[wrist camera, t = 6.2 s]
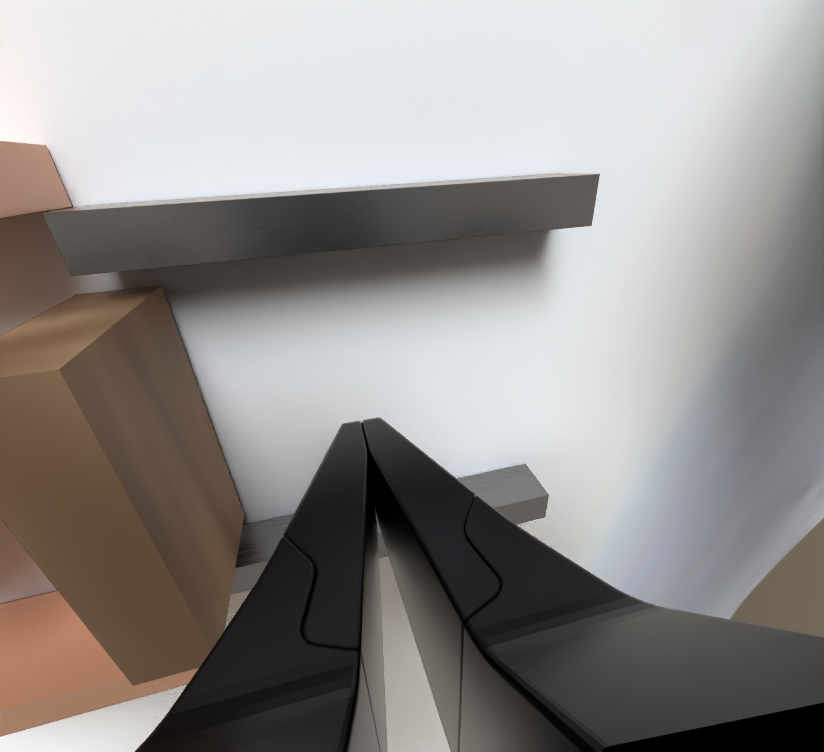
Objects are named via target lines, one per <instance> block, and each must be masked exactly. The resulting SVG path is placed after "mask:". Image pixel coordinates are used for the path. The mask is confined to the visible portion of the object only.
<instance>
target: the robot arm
mask: <svg viewBox="0 0 824 752" xmlns="http://www.w3.org/2000/svg"><path fill="white" fill-rule="evenodd" d="M375 510H376V511H375ZM376 515H377V519H376ZM377 520H378V523H379V527H380V530H381V534H382V537H383V540H384V543H385V546H386V549H387V553H388V556H389V559H390V562H391V565H392V568H393V571H394V575H395V578H396V581H397V584H398V587H399V590H400V593H401V597H402V600H403V603H404V606H405V609H406V612H407V615H408V619H409V622H410V625H411V628H412V631H413V634H414V637H415V641H416V644H417V647H418V650H419V653H420V656H421V659H422V663H423V666H424V669H425V672H426V675H427V678H428V681H429V685H430V688H431V691H432V694H433V697H434V700H435V703H436V707H437V710H438V713H439V716H440V719H441V722H442V725H443V729H444V732H445V735H446V738H447V741H448V744H449V747H450V751H451V752H824V637H821V636H815V635H810V634H804V633H799V632H793V631H788V630H782V629H777V628H772V627H767V626H761V625H756V624H750V623H745V622H739V621H734V620H729V619H723V618H718V617H712V616H707V615H702V614H696V613H691V612H685V611H680V610H675V609H669V608H664V607H660V606H656V605H653V604H649V603H646V602H644V601H641V600H639V599H636V598H634V597H631V596H629V595H627V594H625V593H623V592H621V591H619V590H618V589H616V588H614V587H612V586H611V585H609V584H607V583H606V582H604V581H602V580H601V579H599V578H598V577H596V576H595V575H593V574H591V573H590V572H588V571H587V570H585V569H584V568H582V567H581V566H579V565H577V564H576V563H574V562H573V561H571V560H570V559H568V558H566V557H565V556H563V555H562V554H560V553H559V552H557V551H555V550H554V549H552V548H551V547H549V546H548V545H546V544H544V543H543V542H541V541H540V540H538V539H537V538H535V537H534V536H532V535H531V534H529V533H528V532H526V531H525V530H523V529H522V528H520V527H519V526H517V525H516V524H514V523H513V522H511V521H510V520H509V519H507V518H506V517H505V516H504V515H502V514H501V513H500V512H498V511H497V510H496V509H494V508H493V507H492V506H490V505H489V504H488V503H487V502H485V501H484V500H483V499H482V498H480V497H479V496H475V493H474V492H473V491H471V490H470V489H469V488H468V487H466V486H465V485H464V484H463V483H461V482H460V481H459V480H458V479H456V478H455V477H454V476H453V475H451V474H450V473H449V472H448V471H446V470H445V469H444V468H443V467H441V466H440V465H439V464H438V463H436V462H435V461H434V460H433V459H431V458H430V457H429V456H428V455H426V454H425V453H424V452H423V451H421V450H420V449H419V448H418V447H416V446H415V445H414V444H413V443H411V442H410V441H409V440H408V439H406V438H405V437H404V436H403V435H401V434H400V433H399V432H398V431H396V430H395V429H394V428H393V427H391V426H390V425H389V424H388V423H386V422H385V421H384V420H383V419H381V418H373V419H367V420H364V421H362V423H361V422H360V421H355V422H349V423H344V424H342V425H341V427H340V429H339V431H338V433H337V435H336V436H335V438H334V440H333V442H332V444H331V446H330V448H329V450H328V451H327V453H326V455H325V457H324V459H323V461H322V463H321V465H320V466H319V468H318V470H317V472H316V474H315V476H314V478H313V480H312V481H311V483H310V485H309V487H308V489H307V491H306V493H305V495H304V497H303V498H302V500H301V502H300V504H299V506H298V508H297V510H296V512H295V513H294V515H293V517H292V519H291V521H290V523H289V525H288V527H287V528H286V530H285V532H284V534H283V537H282V538H281V539H280V541H279V543H278V545H277V547H276V549H275V551H274V553H273V554H272V556H271V558H270V560H269V561H268V563H267V565H266V567H265V568H264V570H263V572H262V574H261V575H260V577H259V579H258V581H257V582H256V584H255V585H254V587H253V588H252V590H251V591H250V593H249V595H248V596H247V598H246V599H245V601H244V602H243V604H242V605H241V607H240V608H239V610H238V611H237V613H236V614H235V616H234V617H233V619H232V620H231V622H230V623H229V625H228V626H227V628H226V629H225V631H224V632H223V633H222V635H221V636H220V638H219V639H218V641H217V642H216V644H215V645H214V647H213V648H212V650H211V651H210V652H209V654H208V655H207V657H206V658H205V660H204V661H203V663H202V664H201V666H200V667H199V669H198V670H197V672H196V673H195V674H194V676H193V677H192V679H191V680H190V682H189V683H188V685H187V686H186V688H185V689H184V691H183V692H182V693H181V695H180V696H179V698H178V699H177V701H176V702H175V704H174V705H173V706H172V708H171V709H170V710H169V712H168V713H167V715H166V716H165V717H164V719H163V720H162V721H161V722H160V723H159V725H158V726H157V727H156V728H155V730H154V731H153V732H152V733H151V735H150V736H149V737H148V738H147V739H146V740H145V741H144V742H143V743H142V744H141V746H140V747H139V748H138V749H137V750H136V751H135V752H387V732H386V709H385V687H384V664H383V642H382V620H381V597H380V575H379V552H378V531H377Z"/></svg>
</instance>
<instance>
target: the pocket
mask: <svg viewBox="0 0 824 752" xmlns="http://www.w3.org/2000/svg"><path fill="white" fill-rule="evenodd" d="M66 207H72V204H71V202H70V200H69V197H68V195H67V193H66V190H65V188H64V186H63V183H62V181H61V179H60V176H59V174H58V172H57V169H56V167H55V165H54V162H53V160H52V158H51V156H50V153H49V151H48V149H47V146H46V145H36V144H26V143H15V142H4V141H0V218H3V217H9V216H16V215H22V214H28V213H34V212H41V211H47V210H53V209H59V208H66ZM198 669H199V668H197V669H193V670H189V671H186V672H182V673H178V674H175V675H171V676H167V677H164V678H160V679H156V680H153V681H149V682H146V683H142V684H138V685H135V686H133V685H132V684H131V683H130V682H129V680H128V679H127V678H126V677H125V675H124V674H123V673H122V672H121V670H120V669H119V668H118V666H117V665H116V664H115V663H114V661H113V660H112V659H111V658H110V656H109V655H108V654H107V653H106V651H105V650H104V649H103V647H102V646H101V645H100V644H99V642H98V641H97V640H96V639H95V637H94V636H93V635H92V634H91V632H90V631H89V630H88V628H87V627H86V626H85V625H84V623H83V622H82V621H81V620H80V618H79V617H78V616H77V614H76V613H75V612H74V611H73V609H72V608H71V607H70V606H69V604H68V603H67V602H66V601H65V599H64V598H63V597H62V595H61V594H60V593H59V592H58V591H55V592H51V593H46V594H42V595H38V596H33V597H29V598H24V599H20V600H16V601H11V602H7V603H2V604H0V737H1V736H4V735H8V734H11V733H15V732H19V731H22V730H26V729H29V728H33V727H36V726H40V725H43V724H47V723H51V722H54V721H58V720H61V719H65V718H68V717H72V716H76V715H79V714H83V713H86V712H90V711H93V710H97V709H101V708H104V707H108V706H111V705H115V704H118V703H122V702H125V701H129V700H133V699H136V698H140V697H143V696H147V695H150V694H154V693H158V692H161V691H165V690H168V689H172V688H175V687H179V686H182V685H186V684H188V683H189V682H190V680H191V679H192V677H193V676H194V674H195V673H196V672H197V670H198Z"/></svg>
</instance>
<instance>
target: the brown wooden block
mask: <svg viewBox="0 0 824 752" xmlns="http://www.w3.org/2000/svg"><path fill="white" fill-rule="evenodd" d="M0 518H1V519H2V521H3V522H4V523H5V524H6V526H7V527H8V528H9V530H10V531H11V532H12V533H13V535H14V536H15V537H16V538H17V540H18V541H19V542H20V544H21V545H22V546H23V547H24V549H25V550H26V551H27V552H28V554H29V555H30V556H31V557H32V559H33V560H34V561H35V563H36V564H37V565H38V566H39V568H40V569H41V570H42V571H43V573H44V574H45V575H46V576H47V578H48V579H49V580H50V582H51V583H52V584H53V585H54V587H55V588H56V589H57V590H58V592H59V593H60V594H61V595H62V597H63V598H64V599H65V601H66V602H67V603H68V604H69V606H70V607H71V608H72V609H73V611H74V612H75V613H76V614H77V616H78V617H79V618H80V620H81V621H82V622H83V623H84V625H85V626H86V627H87V628H88V630H89V631H90V632H91V634H92V635H93V636H94V637H95V639H96V640H97V641H98V642H99V644H100V645H101V646H102V647H103V649H104V650H105V651H106V653H107V654H108V655H109V656H110V658H111V659H112V660H113V661H114V663H115V664H116V665H117V666H118V668H119V669H120V670H121V672H122V673H123V674H124V675H125V677H126V678H127V679H128V680H129V682H130V683H131V684H132V685H133V686H135V685H138V684H142V683H146V682H149V681H153V680H156V679H160V678H164V677H167V676H171V675H175V674H178V673H182V672H186V671H189V670H193V669H197V668H199V667H200V666H201V664H202V663H203V661H204V660H205V658H206V657H207V655H208V654H209V652H210V651H211V650H212V648H213V647H214V645H215V644H216V642H217V641H218V639H219V638H220V636H221V635H222V633H223V632H224V629H225V623H226V618H227V612H228V606H229V600H230V595H231V589H232V583H233V578H234V572H235V566H236V560H237V555H238V549H239V543H240V537H241V532H242V526H243V520H244V512H243V509H242V506H241V504H240V501H239V498H238V495H237V493H236V490H235V487H234V484H233V482H232V479H231V476H230V473H229V470H228V468H227V465H226V462H225V459H224V457H223V454H222V451H221V448H220V446H219V443H218V440H217V437H216V435H215V432H214V429H213V426H212V424H211V421H210V418H209V415H208V412H207V410H206V407H205V404H204V401H203V399H202V396H201V393H200V390H199V388H198V385H197V382H196V379H195V377H194V374H193V371H192V368H191V366H190V363H189V360H188V357H187V354H186V352H185V349H184V346H183V343H182V341H181V338H180V335H179V332H178V330H177V327H176V324H175V321H174V319H173V316H172V313H171V310H170V307H169V305H168V302H167V299H166V296H165V294H164V291H163V288H162V286H155V287H145V288H136V289H126V290H117V291H107V292H98V293H88V294H79V295H74V296H73V297H71V298H69V299H67V300H65V301H63V302H62V303H60V304H58V305H56V306H54V307H53V308H51V309H49V310H47V311H45V312H43V313H42V314H40V315H38V316H36V317H34V318H32V319H31V320H29V321H27V322H25V323H23V324H21V325H20V326H18V327H16V328H14V329H12V330H11V331H9V332H7V333H5V334H3V335H1V336H0Z"/></svg>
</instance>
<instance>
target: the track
mask: <svg viewBox="0 0 824 752" xmlns="http://www.w3.org/2000/svg"><path fill="white" fill-rule="evenodd" d="M599 175H600V174H566V173H557V174H542V175H528V176H513V177H498V178H484V179H469V180H454V181H439V182H425V183H410V184H395V185H381V186H366V187H351V188H336V189H322V190H307V191H292V192H278V193H263V194H248V195H233V196H219V197H204V198H189V199H175V200H160V201H145V202H130V203H116V204H101V205H87V206H81V207H75V208H69V209H63V210H57V211H51V212H45V213H42V214H43V217H44V219H45V221H46V223H47V225H48V227H49V229H50V231H51V234H52V236H53V238H54V240H55V242H56V244H57V246H58V249H59V251H60V253H61V255H62V257H63V259H64V261H65V264H66V266H67V268H68V270H69V272H70V274H71V276H78V275H88V274H99V273H109V272H119V271H130V270H140V269H150V268H161V267H171V266H181V265H192V264H202V263H212V262H222V261H233V260H243V259H253V258H264V257H274V256H284V255H295V254H305V253H315V252H326V251H336V250H346V249H357V248H367V247H377V246H387V245H398V244H408V243H418V242H429V241H439V240H449V239H460V238H470V237H480V236H491V235H501V234H511V233H521V232H532V231H542V230H552V229H563V228H573V227H583V226H592V219H593V213H594V207H595V200H596V194H597V188H598V182H599ZM458 480H459V481H460V482H461V483H463V484H464V485H465V486H466V487H468V488H469V489H470V490H471V491H473V492H474V493H475V496H479V497H480V498H482V499H483V500H484V501H485V502H487V503H488V504H489V505H490V506H492V507H493V508H494V509H496V510H497V511H498V512H500V513H501V514H502V515H504V516H505V517H506V518H507V519H509V520H510V521H511V522H513V523H514V524H519V523H524V522H528V521H532V520H536V519H540V518H544V517H545V515H546V509H547V502H548V496H549V495H548V493H547V492H546V491H545V489H544V488H543V487H542V485H541V484H540V483H539V481H538V480H537V479H536V477H535V476H534V475H533V473H532V472H531V471H530V469H529V468H528V467H527V465H526V464H523V465H519V466H514V467H510V468H505V469H500V470H496V471H491V472H486V473H482V474H477V475H473V476H468V477H463V478H459V479H458ZM375 511H376V510H375ZM293 515H294V514H292V515H287V516H283V517H278V518H274V519H269V520H264V521H260V522H255V523H250V524H246V525H243V526H242V532H241V537H240V543H239V549H238V555H237V560H236V566H235V572H234V578H233V583H232V589H231V594H235V593H239V592H243V591H247V590H251V589H252V588H253V587H254V585H255V584H256V582H257V581H258V579H259V577H260V575H261V574H262V572H263V570H264V568H265V567H266V565H267V563H268V561H269V560H270V558H271V556H272V554H273V553H274V551H275V549H276V547H277V545H278V543H279V541H280V539H281V538H282V537H283V534H284V532H285V530H286V528H287V527H288V525H289V523H290V521H291V519H292V517H293ZM376 519H377V515H376ZM377 531H378V552H379V558H381V557H385V556H388V553H387V549H386V546H385V543H384V540H383V537H382V534H381V530H380V527H379V523H378V520H377Z"/></svg>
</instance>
